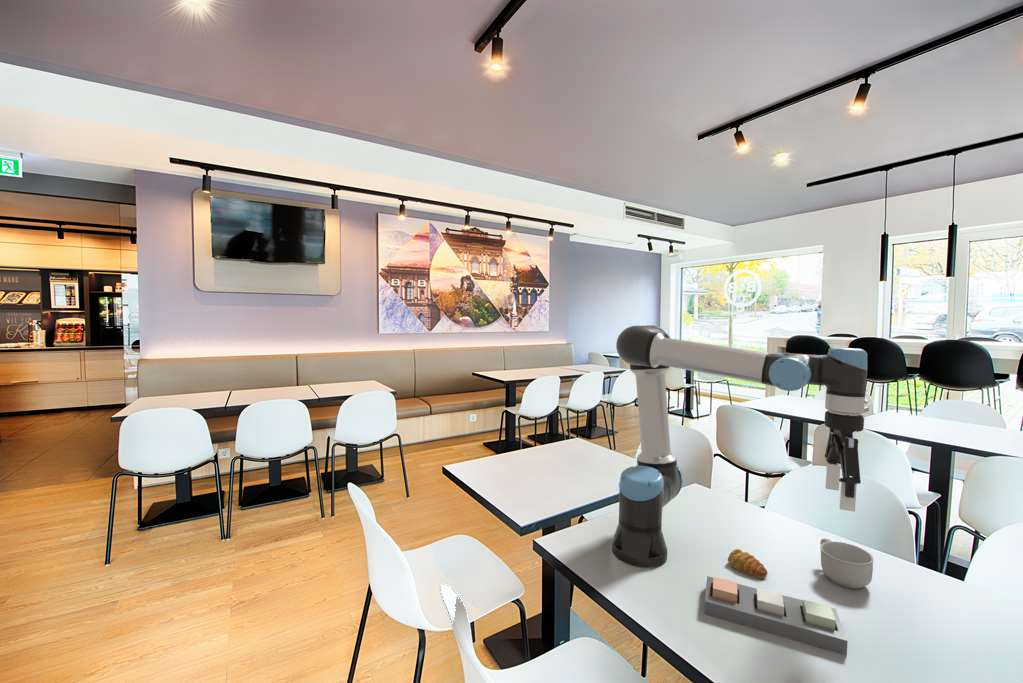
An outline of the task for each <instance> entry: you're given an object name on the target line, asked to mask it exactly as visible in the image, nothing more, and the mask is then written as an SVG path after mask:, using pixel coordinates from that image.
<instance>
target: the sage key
mask: <svg viewBox="0 0 1023 683" xmlns="http://www.w3.org/2000/svg"><path fill="white" fill-rule="evenodd" d="M831 608H832V607H831V606H830V605H826V604H823V603H818V602H815V601H811V600H807V599H803V614H804V618H805V622H806V623H810V624H814V625H818V626H821V627H825V628H829V629H832V630H835V623H836V620H835V617H834V614H833V612H832V609H831Z"/></svg>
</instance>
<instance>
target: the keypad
mask: <svg viewBox="0 0 1023 683" xmlns="http://www.w3.org/2000/svg"><path fill="white" fill-rule="evenodd" d="M713 579H714V576H710V575H709V576H708V575H707V576H706V586H705V593H704V594H705V595H704V609H703V610H704V611H703V613H704V615H707V616H710V617H714V618H717V619H720V620H722V621H723V620H724V621H726V622H727V621H728V622H730V623H734V624H737V625H741V626H745V627H748V628H750V629H755V630H758V631H762V632H765V633H768V634H770V635H771V634H772V635H776V636H778V637H783V638H786V639H788V640H793V641H795V642H798V643H799V642H800V643H803V644H805V645H810V646H813V647H817V648H819V649H823V650H827V651H830V652H833V653H837V654H841V655H845V656H847V655H848V639H847V635H846V633H845V631H844V627H843V624H842V622H841V619H840V616H839V613H838V611H837V608H834V607H831V609H832V612H833V614H834V617H835V620H836V623H835V630H832V629H829V628H825V627H821V626H818V625H814V624H810V623H806V622H805V618H804V614H803V600H804V599H803V600H802V599H799V598H795V597H792V596H787V595H785V594H782V597H783V602H784V616H781V615H777V614H773V613H770V612H766V611H762V610H759V609H757V602H756V590H757V588H758V587H753V586H748V585H745V584H740V583H737V603H733V602H729V601H726V600H722V599H718V598H715V597H713Z"/></svg>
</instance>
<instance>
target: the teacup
mask: <svg viewBox="0 0 1023 683" xmlns="http://www.w3.org/2000/svg"><path fill="white" fill-rule="evenodd" d="M819 548H820V562H821V563H820V564H821V569H822V571H823V572H824V574H825V575H826V576H827V578H829V579H830V580H831V581H832V582H834V583H835V584H836V585H839V586H842V587H844V588H847V589H855V590H856V589H861V588H863V587H867V586H868V585H869V584H870V583H871V582H872V579H873V573H874V568H873V567H874V562H875V561H874V557H873V555H872V553H870V552H868V551H867V550H866V549H863V547H859V546H856V545H854V544H851V543H847V542H842V541H832V540H831V539H830V538H827V537H825V538H822V539H821V540H820V546H819Z"/></svg>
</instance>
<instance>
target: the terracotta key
mask: <svg viewBox="0 0 1023 683" xmlns="http://www.w3.org/2000/svg"><path fill="white" fill-rule="evenodd" d="M713 578H714V579H713V597H715V598H718V599H722V600H726V601H729V602H733V603H737V584H738V582H736V581H732V580H728V579H724V578H719V577H715V576H713Z"/></svg>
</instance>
